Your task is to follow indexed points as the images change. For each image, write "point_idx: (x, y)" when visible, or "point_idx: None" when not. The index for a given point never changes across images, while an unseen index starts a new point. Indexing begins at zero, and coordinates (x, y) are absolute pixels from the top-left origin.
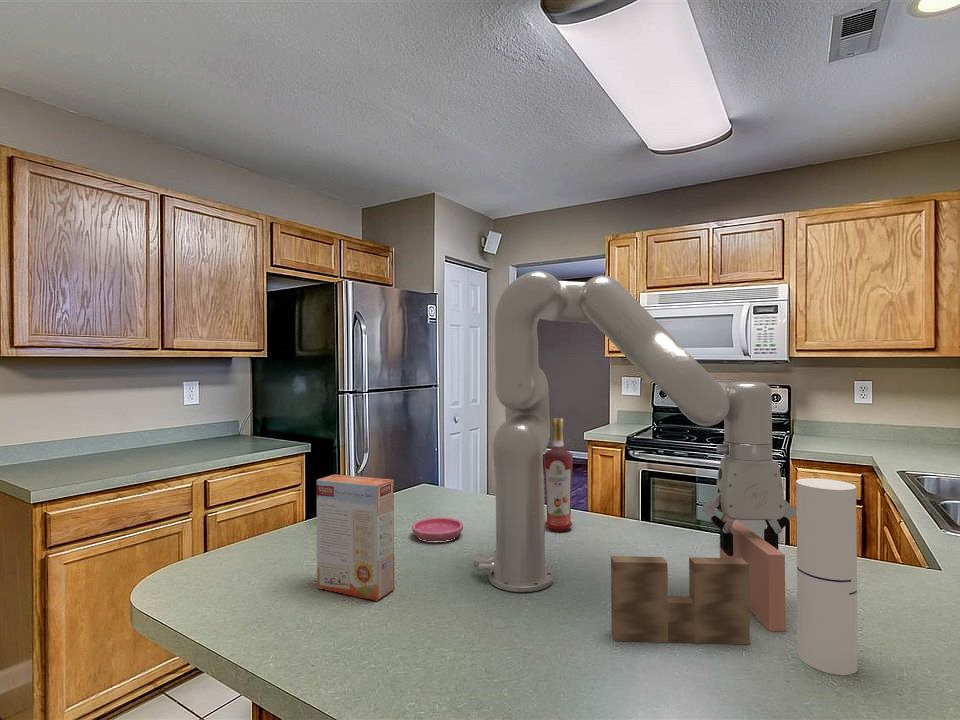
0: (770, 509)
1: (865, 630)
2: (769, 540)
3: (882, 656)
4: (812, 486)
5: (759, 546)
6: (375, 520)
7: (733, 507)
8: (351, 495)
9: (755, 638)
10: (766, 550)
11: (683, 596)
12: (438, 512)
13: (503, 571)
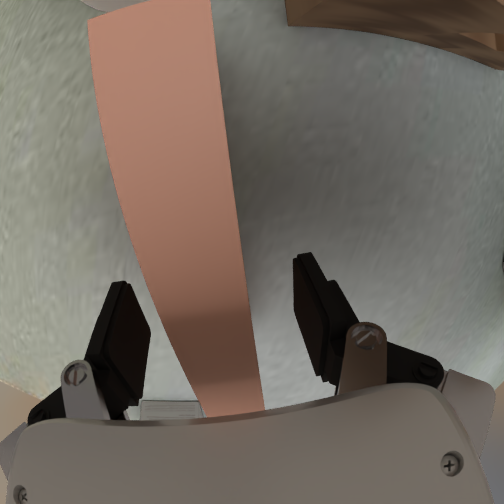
0: (77, 491)
1: (8, 137)
2: (125, 342)
3: (20, 32)
4: None
5: (214, 162)
6: None
7: (427, 462)
8: None
9: (259, 18)
10: (189, 75)
11: (467, 34)
12: (492, 375)
13: None
